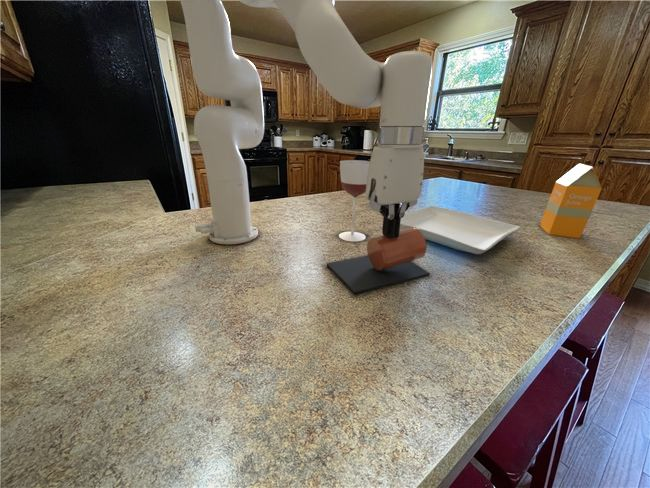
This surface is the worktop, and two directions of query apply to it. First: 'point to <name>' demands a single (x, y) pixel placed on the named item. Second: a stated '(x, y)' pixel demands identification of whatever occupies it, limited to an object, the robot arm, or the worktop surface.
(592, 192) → the orange juice
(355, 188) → the wineglass
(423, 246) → the cup
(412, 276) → the mat
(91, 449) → the worktop surface
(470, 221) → the square plate
